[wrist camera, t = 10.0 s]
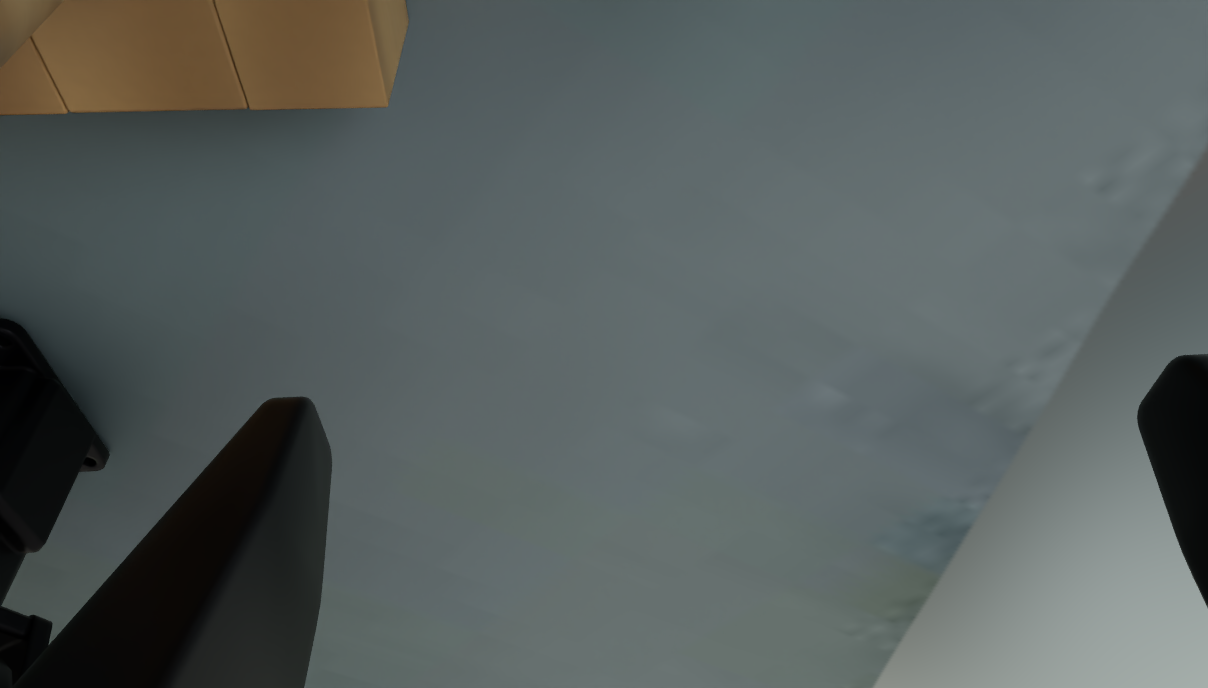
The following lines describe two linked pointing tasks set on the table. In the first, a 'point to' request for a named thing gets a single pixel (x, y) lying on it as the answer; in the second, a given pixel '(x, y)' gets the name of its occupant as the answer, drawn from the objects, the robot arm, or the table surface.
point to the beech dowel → (21, 22)
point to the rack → (207, 56)
